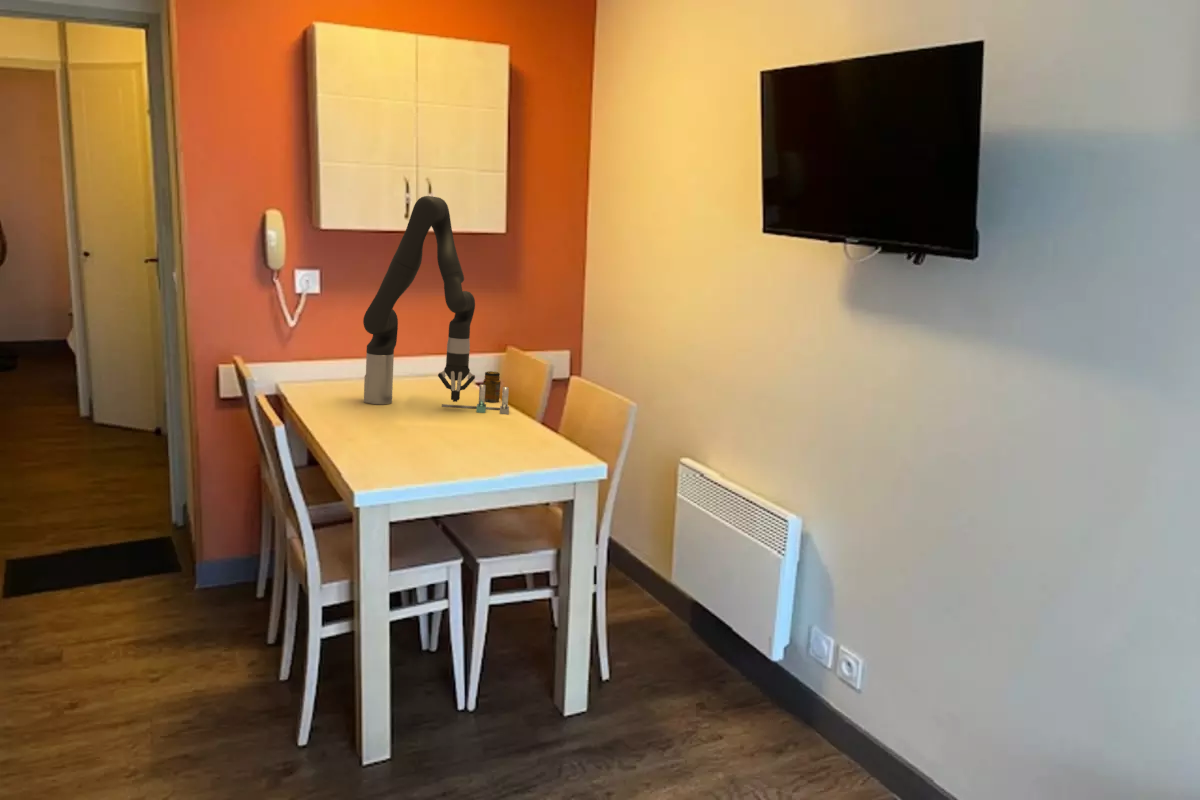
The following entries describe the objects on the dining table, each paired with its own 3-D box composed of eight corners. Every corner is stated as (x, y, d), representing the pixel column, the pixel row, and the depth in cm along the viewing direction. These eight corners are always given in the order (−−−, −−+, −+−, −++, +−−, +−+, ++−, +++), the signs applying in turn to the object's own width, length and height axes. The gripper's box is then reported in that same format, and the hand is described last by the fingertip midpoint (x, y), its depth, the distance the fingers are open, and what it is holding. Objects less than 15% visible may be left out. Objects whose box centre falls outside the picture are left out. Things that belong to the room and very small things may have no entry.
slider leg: (476, 412, 316) (477, 386, 314) (477, 409, 321) (478, 383, 319) (485, 412, 316) (486, 386, 315) (485, 409, 321) (487, 384, 319)
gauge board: (436, 418, 309) (436, 411, 309) (440, 409, 323) (440, 403, 323) (509, 422, 311) (509, 416, 311) (510, 413, 325) (510, 407, 325)
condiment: (493, 402, 342) (495, 370, 339) (506, 407, 335) (508, 374, 333) (476, 404, 337) (478, 371, 335) (489, 408, 331) (491, 375, 328)
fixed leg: (499, 414, 317) (501, 388, 315) (500, 411, 322) (501, 385, 320) (508, 415, 317) (510, 389, 315) (508, 412, 322) (510, 386, 320)
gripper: (437, 351, 310) (434, 402, 313) (477, 354, 311) (474, 405, 315) (439, 347, 317) (436, 397, 321) (478, 350, 319) (475, 400, 322)
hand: (455, 401), depth 318 cm, fingers closed
